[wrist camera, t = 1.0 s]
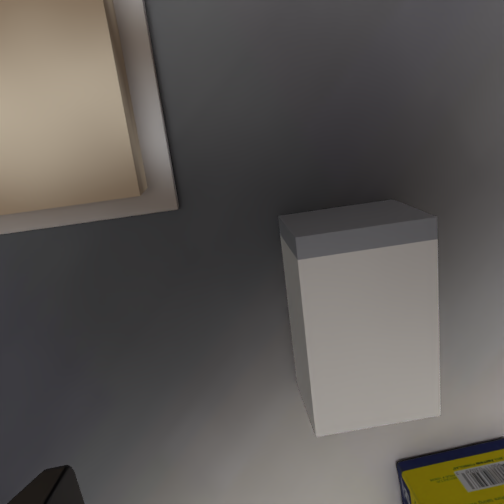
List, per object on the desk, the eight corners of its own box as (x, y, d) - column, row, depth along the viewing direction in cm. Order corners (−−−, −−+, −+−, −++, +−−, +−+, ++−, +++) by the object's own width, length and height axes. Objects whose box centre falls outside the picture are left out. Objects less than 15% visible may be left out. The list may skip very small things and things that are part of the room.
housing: (400, 365, 22) (440, 415, 19) (296, 382, 22) (315, 437, 18) (392, 199, 20) (437, 217, 16) (277, 215, 20) (295, 237, 16)
